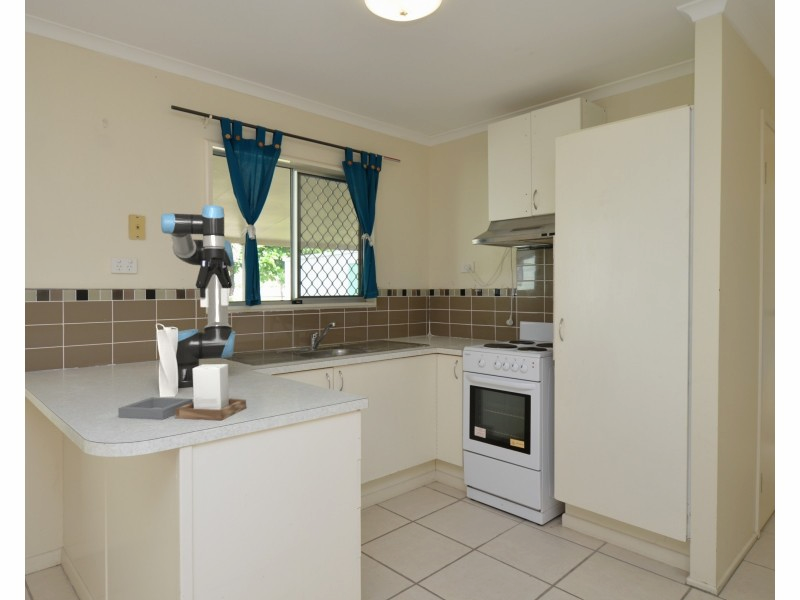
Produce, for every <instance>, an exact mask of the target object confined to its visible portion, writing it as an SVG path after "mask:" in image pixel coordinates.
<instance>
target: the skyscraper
mask: <svg viewBox="0 0 800 600" xmlns="http://www.w3.org/2000/svg"><path fill="white" fill-rule="evenodd" d="M158 326H161V327H163V329H158ZM155 329H156V339H157V349H158V355H159V364H158V387H159V389H158V390H159V398H174V397H176V396H177V395H178V394H179V387H178V367H177V360H176V352H177V343H178V331H179V329H178V327H175V326H165V325H164V324H161V323H156V324H155Z"/></svg>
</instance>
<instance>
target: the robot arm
mask: <svg viewBox="0 0 800 600" xmlns="http://www.w3.org/2000/svg"><path fill="white" fill-rule="evenodd" d="M224 210H225V209H224V207H223V206H221V205H214V204H213V205H212V204H211V205H210V204H209V205H204V206H203V207H202V214H199V213H198V214H196V213H193V214H191V213H175V212H174V213H173V212H170V213H163V214H161V215H160V216H161V217H160V218H161V219H160V226H161V227H160V228H161V232H162V234H168V235H170V237H171V239H172V240H171V241H172V247H171V248H172V252H173V254H174V255H175V256H176V258H177V259H179V260H180V261H182V262H184V263H186V264H188V265H192V266H200V267H199V269H198V270H199V271H198V275H197V278H196V281H195V282H196V283H195V287H196V289H199V294H200V295H199V299H200V300H199V301H200V302H199V303H200V308H207V324H206V325H205V326H204V327H203V331H202V332H201V331H200V330H199V329H198V328H192V329H184V330H178V343H177V352H176V360H177V367H178V388H190V387H193V370H192V369H193V368H195V367H198V366H200V360H209V359H224V358H225V359H226V358H231V357H232V356H233V354H234V348H235V338H236V331H235V330H233V326H232V325H231V324H229V305H230V303H229V302H230V301H229V296H230V295H229V289H232V286H233V283H232V279H231V276H230V273H229V272H230V271H231V267H232V266H234V265H235V262H234V261H235V260H234V254H233V253H234V252H233V247H232V244H231V242H230V241H229V240H226V239H225V211H224ZM192 235H202V239H193V236H192Z"/></svg>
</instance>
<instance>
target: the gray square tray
mask: <svg viewBox="0 0 800 600" xmlns="http://www.w3.org/2000/svg"><path fill="white" fill-rule="evenodd" d="M192 402H194V398H179V397H178V398H175V397H149V398H145V399H142V400H139V401H136V402H133V403H130V404H127V405H125V406H121V407H118V408H117V409H118V418H121V419H122V418H124V419H141V420H142V419H144V420H145V419H146V420H166V419H168V418H170V417H173V416H175V409H176V408H179V407H182V406H184V405H187V404H189V403H192Z"/></svg>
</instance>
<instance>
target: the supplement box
mask: <svg viewBox="0 0 800 600" xmlns="http://www.w3.org/2000/svg"><path fill="white" fill-rule="evenodd" d="M192 370H193V386H192V388H193V390H192V392H193V393H192V394H193V402H194V409H215V410H220V409H222V408H224V407H226V406H228V405H229V399H230V393H229V392H230V391H229V390H230V389H229V364H228V363H218V364H217V363H216V364H214V363H213V364H212V363H211V364H206V363H205V364H204V363H203V364H201V365H200V364H199V366H198V367H195V368H193V369H192Z"/></svg>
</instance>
